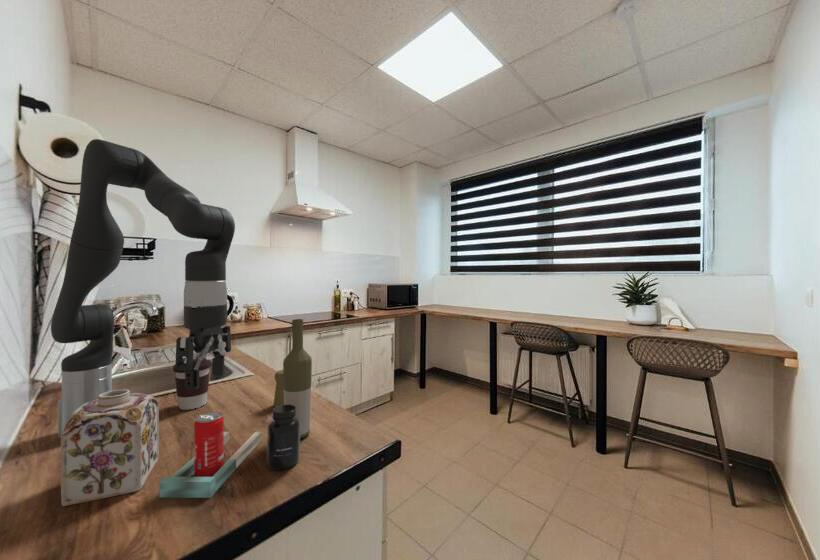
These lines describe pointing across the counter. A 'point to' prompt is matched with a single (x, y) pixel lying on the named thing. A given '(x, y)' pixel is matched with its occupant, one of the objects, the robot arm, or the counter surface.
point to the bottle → (298, 378)
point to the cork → (279, 389)
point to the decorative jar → (109, 446)
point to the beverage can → (208, 444)
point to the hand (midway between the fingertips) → (206, 381)
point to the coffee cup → (193, 397)
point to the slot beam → (204, 486)
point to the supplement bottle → (283, 438)
